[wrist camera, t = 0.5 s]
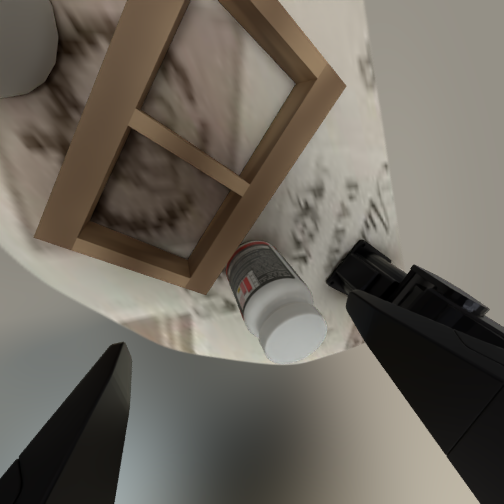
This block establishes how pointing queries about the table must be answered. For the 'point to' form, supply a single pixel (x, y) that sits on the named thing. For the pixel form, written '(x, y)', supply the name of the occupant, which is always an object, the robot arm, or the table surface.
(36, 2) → the can
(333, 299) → the table surface
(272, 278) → the pill bottle
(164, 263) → the wooden divided tray
